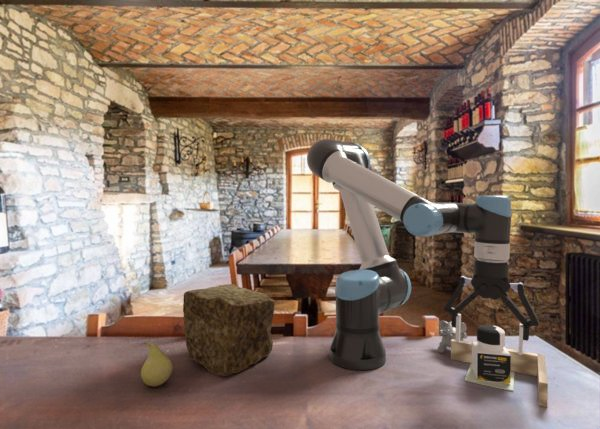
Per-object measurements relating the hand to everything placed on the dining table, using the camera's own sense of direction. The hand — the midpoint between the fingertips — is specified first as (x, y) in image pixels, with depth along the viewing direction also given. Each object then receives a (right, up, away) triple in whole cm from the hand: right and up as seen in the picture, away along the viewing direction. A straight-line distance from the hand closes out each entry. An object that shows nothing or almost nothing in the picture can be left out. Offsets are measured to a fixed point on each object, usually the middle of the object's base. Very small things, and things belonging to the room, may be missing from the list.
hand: (487, 346), depth 91 cm
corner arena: (0, -7, -1) cm, 8 cm away
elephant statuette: (-2, -7, +18) cm, 19 cm away
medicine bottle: (0, -7, 0) cm, 7 cm away
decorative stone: (-65, -8, +12) cm, 66 cm away
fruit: (-80, -8, -3) cm, 80 cm away
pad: (0, -7, 0) cm, 7 cm away
